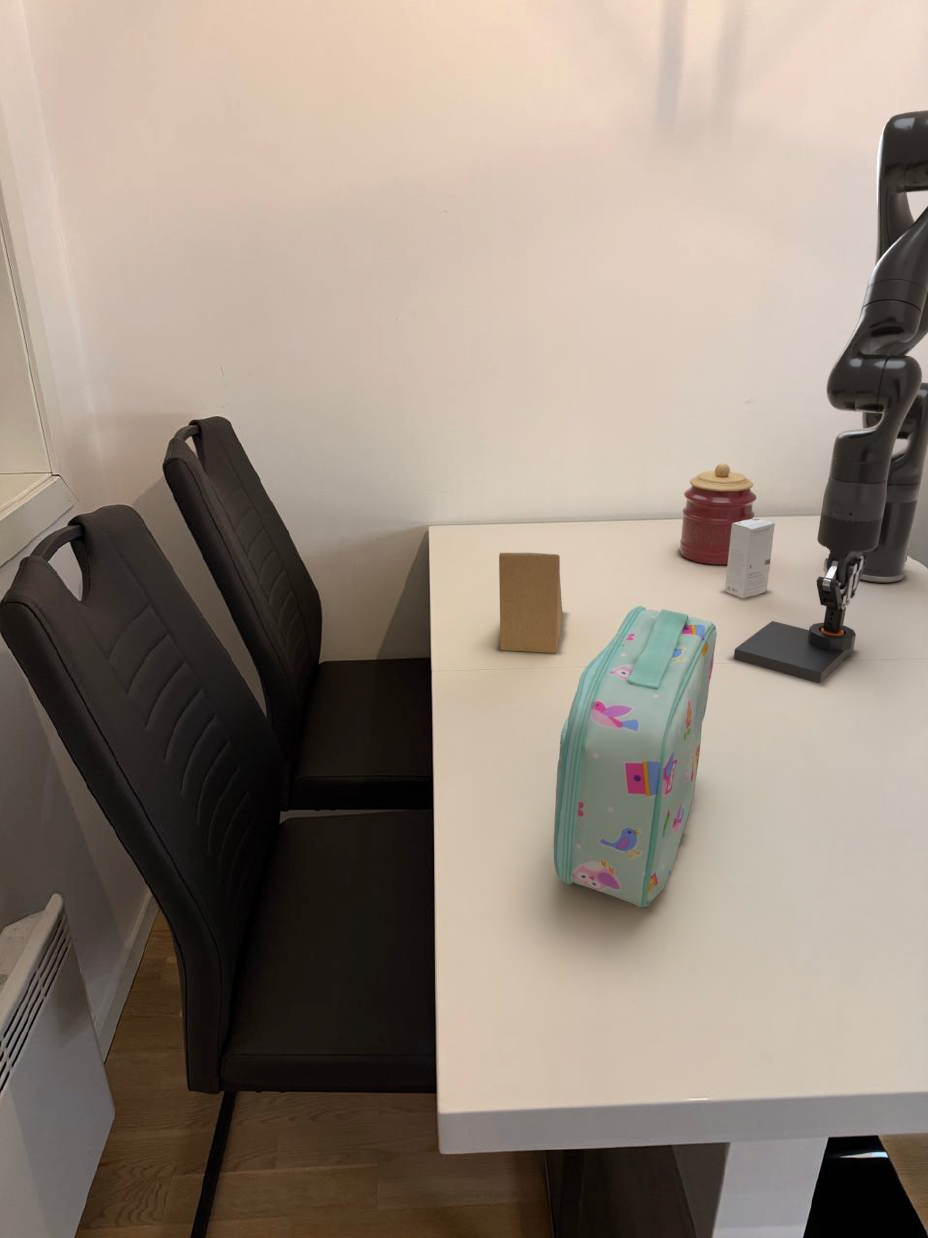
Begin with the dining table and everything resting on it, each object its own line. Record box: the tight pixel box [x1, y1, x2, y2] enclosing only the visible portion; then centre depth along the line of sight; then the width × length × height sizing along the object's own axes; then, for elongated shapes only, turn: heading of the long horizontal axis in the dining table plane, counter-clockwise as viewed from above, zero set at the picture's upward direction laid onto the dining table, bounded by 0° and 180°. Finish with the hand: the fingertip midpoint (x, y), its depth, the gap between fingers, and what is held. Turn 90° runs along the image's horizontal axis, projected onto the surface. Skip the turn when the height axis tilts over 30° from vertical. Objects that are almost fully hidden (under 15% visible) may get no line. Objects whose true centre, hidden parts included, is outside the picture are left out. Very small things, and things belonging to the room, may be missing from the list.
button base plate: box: [733, 620, 857, 684], centre depth 118 cm, size 13×12×4 cm
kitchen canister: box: [679, 462, 757, 565], centre depth 157 cm, size 13×13×18 cm
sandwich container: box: [498, 552, 564, 654], centre depth 126 cm, size 9×15×15 cm, turn 170°
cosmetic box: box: [724, 518, 776, 599], centre depth 140 cm, size 6×4×12 cm
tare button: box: [821, 628, 844, 636], centre depth 118 cm, size 3×3×2 cm
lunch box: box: [553, 605, 718, 908], centre depth 79 cm, size 27×10×21 cm, turn 157°
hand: (832, 630), depth 118 cm, fingers closed
